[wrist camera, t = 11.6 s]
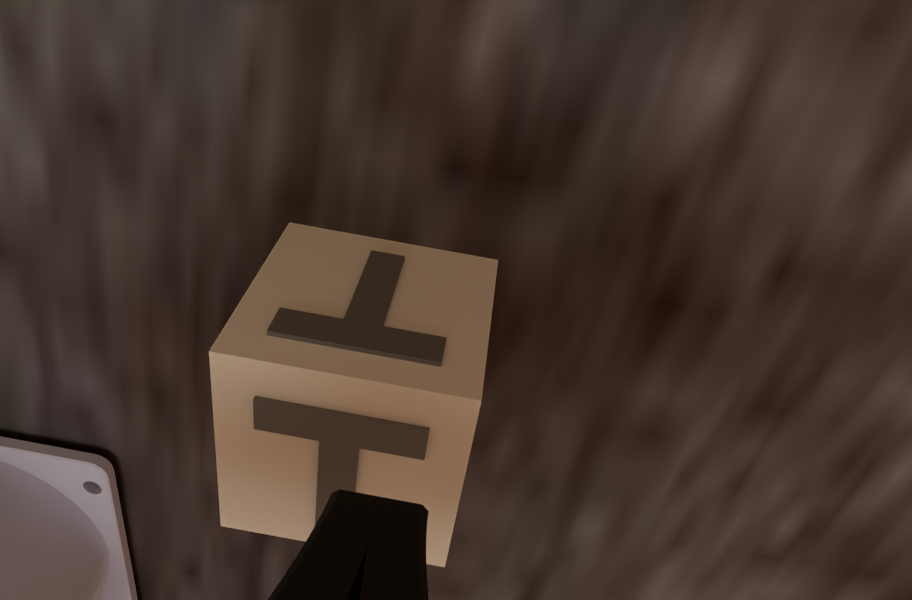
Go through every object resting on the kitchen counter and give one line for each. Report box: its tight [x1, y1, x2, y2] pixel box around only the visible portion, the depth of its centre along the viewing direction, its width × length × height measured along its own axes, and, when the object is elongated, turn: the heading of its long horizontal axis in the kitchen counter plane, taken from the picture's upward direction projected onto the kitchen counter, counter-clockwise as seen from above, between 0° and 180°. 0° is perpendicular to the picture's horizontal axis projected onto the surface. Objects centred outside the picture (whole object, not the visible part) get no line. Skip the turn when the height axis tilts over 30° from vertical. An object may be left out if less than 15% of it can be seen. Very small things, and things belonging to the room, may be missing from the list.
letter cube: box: [209, 222, 498, 567], centre depth 15 cm, size 5×4×5 cm
